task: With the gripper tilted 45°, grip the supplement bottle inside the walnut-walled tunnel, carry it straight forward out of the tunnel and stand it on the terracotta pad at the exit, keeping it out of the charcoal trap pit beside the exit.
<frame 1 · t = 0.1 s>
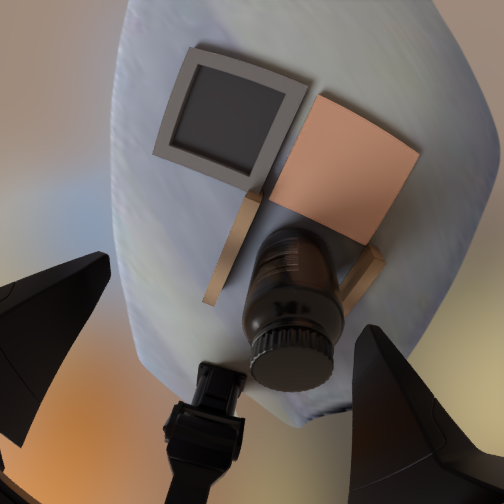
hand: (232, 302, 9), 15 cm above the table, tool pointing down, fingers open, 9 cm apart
supplement bottle: (295, 259, 25), on the table
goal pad: (345, 172, 20), on the table
channel: (290, 269, 25), on the table
trap pit: (225, 118, 19), on the table
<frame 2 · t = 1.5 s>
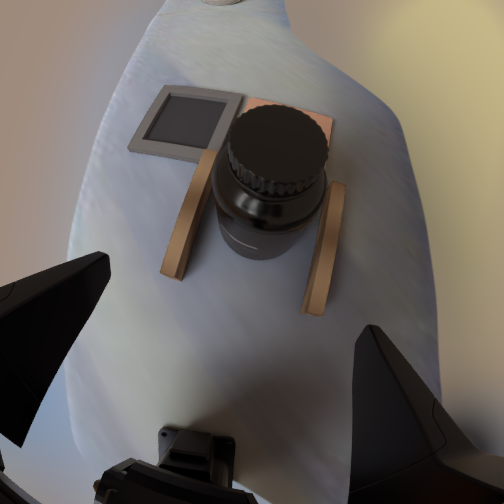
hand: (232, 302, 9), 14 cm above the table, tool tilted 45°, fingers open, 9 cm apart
supplement bottle: (259, 223, 24), on the table
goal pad: (282, 141, 26), on the table
channel: (257, 234, 23), on the table
supplement can: (222, 0, 34), on the table
trap pit: (186, 122, 26), on the table
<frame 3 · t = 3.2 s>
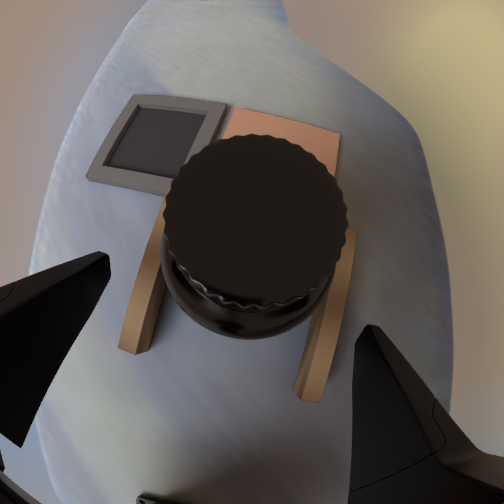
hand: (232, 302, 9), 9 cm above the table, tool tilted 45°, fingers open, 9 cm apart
supplement bottle: (244, 279, 18), on the table
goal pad: (275, 166, 20), on the table
channel: (240, 294, 18), on the table
trap pit: (156, 141, 21), on the table
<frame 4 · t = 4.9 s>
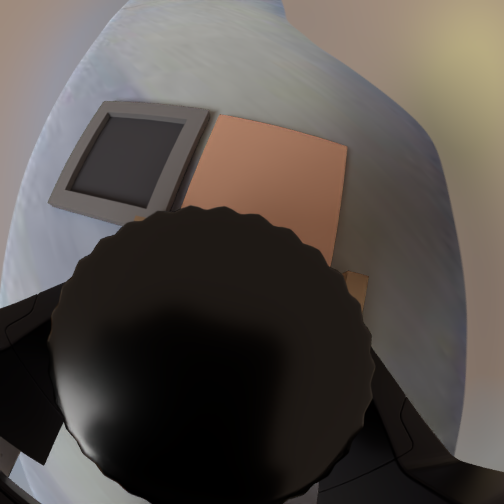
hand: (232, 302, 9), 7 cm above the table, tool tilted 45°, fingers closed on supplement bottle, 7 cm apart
supplement bottle: (228, 333, 15), on the table, touching gripper
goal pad: (267, 188, 17), on the table
channel: (223, 351, 14), on the table
trap pit: (126, 158, 17), on the table
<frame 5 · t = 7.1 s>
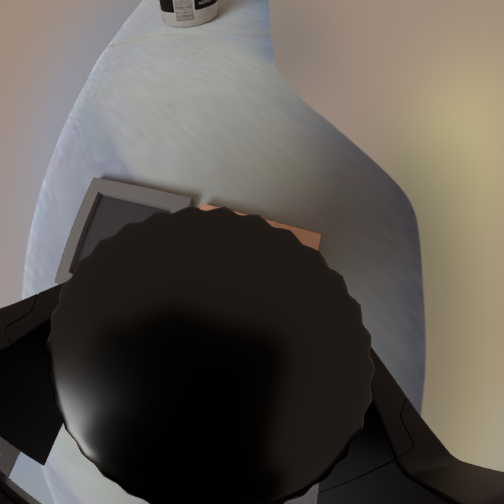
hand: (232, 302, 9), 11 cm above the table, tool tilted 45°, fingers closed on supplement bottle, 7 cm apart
supplement bottle: (228, 333, 15), point 4 cm above the table, touching gripper
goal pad: (244, 280, 19), on the table
supplement can: (190, 19, 28), on the table
trap pit: (119, 244, 20), on the table
when the fingers open (8 cm above the table, at t = 9.1 s): supplement bottle stays where it is, resting on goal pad.
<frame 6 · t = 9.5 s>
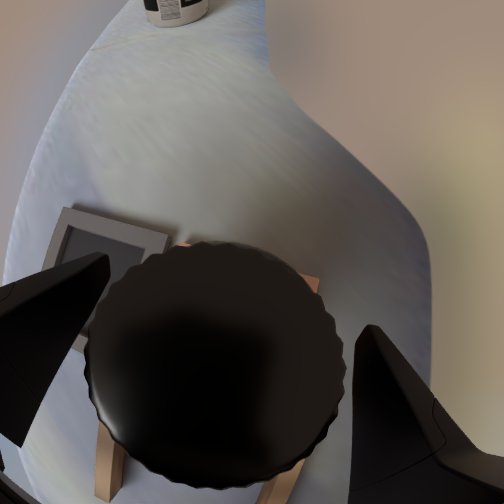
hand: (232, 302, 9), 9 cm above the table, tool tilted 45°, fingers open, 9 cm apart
supplement bottle: (228, 335, 16), point 1 cm above the table, touching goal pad
channel: (194, 463, 14), on the table
supplement can: (178, 17, 25), on the table
trap pit: (92, 285, 17), on the table
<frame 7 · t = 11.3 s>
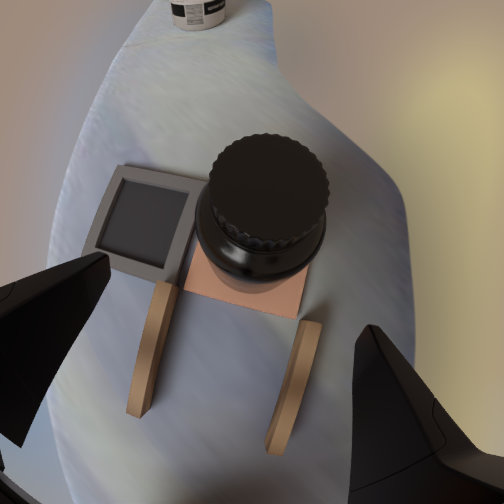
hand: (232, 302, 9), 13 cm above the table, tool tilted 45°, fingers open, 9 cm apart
supplement bottle: (252, 252, 22), point 1 cm above the table, touching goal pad
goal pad: (253, 252, 23), on the table
channel: (221, 370, 20), on the table
supplement can: (199, 22, 31), on the table
trap pit: (142, 222, 23), on the table
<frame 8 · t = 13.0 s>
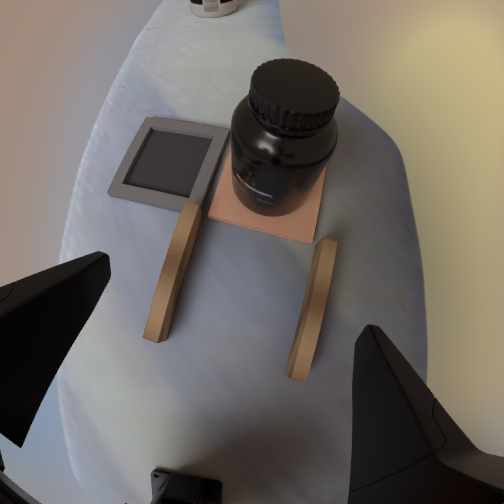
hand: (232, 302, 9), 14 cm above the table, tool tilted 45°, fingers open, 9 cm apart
supplement bottle: (271, 184, 24), point 1 cm above the table, touching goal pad
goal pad: (271, 186, 25), on the table
channel: (242, 293, 22), on the table
supplement can: (214, 11, 33), on the table
trap pit: (169, 162, 25), on the table
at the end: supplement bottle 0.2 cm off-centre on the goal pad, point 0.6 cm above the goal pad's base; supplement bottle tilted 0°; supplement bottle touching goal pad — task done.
